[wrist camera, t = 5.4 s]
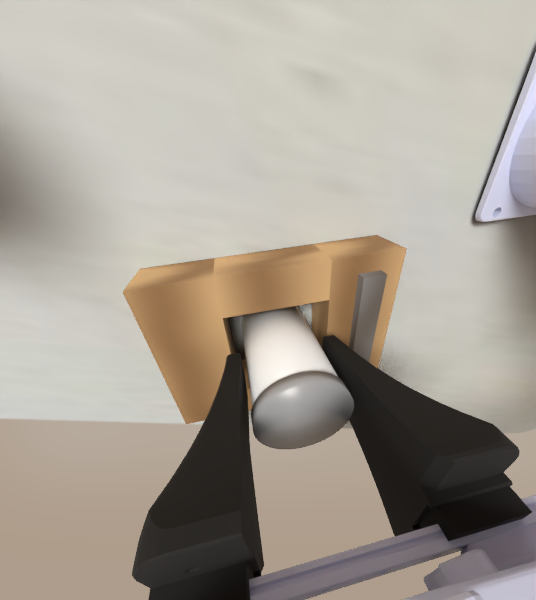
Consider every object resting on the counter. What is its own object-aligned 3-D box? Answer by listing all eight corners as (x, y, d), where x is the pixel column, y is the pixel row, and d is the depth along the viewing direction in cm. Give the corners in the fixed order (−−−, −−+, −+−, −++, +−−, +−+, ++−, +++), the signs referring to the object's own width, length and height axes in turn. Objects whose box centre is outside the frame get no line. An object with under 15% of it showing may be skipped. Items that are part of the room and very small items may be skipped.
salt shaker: (300, 286, 14) (358, 372, 8) (303, 337, 16) (350, 434, 10) (233, 299, 14) (244, 400, 8) (245, 349, 16) (261, 458, 10)
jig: (376, 235, 13) (414, 252, 11) (356, 358, 18) (378, 389, 16) (140, 268, 12) (118, 297, 9) (190, 391, 17) (185, 431, 14)
